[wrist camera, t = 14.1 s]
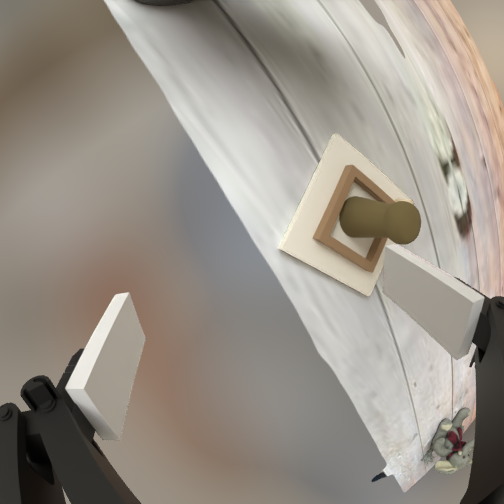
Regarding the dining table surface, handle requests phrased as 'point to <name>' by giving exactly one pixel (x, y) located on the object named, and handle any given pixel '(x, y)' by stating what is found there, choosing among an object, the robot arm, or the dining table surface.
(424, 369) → the dining table surface
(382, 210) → the cork
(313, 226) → the seat board
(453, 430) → the plush elephant
